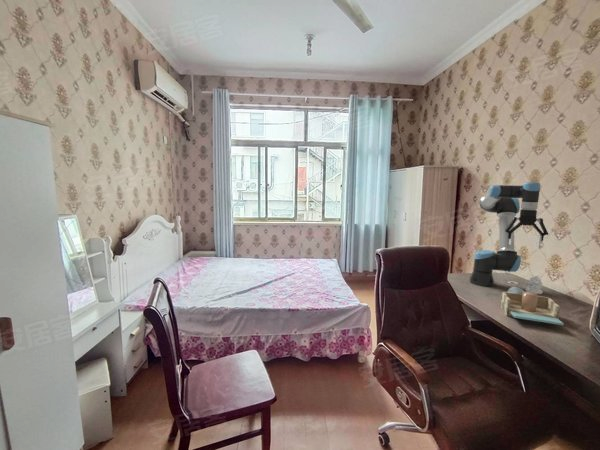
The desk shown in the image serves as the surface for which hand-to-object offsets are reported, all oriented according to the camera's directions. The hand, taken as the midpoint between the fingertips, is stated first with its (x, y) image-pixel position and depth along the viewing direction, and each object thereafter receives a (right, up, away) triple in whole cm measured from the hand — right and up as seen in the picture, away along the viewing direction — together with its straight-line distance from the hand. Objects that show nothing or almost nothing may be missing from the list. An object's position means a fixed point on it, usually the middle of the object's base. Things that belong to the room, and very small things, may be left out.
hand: (524, 245), depth 173 cm
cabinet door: (-11, -35, -20) cm, 42 cm away
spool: (-1, -35, +6) cm, 35 cm away
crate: (-8, -37, -12) cm, 40 cm away
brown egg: (-8, -34, -13) cm, 37 cm away
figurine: (+23, -32, +23) cm, 46 cm away
